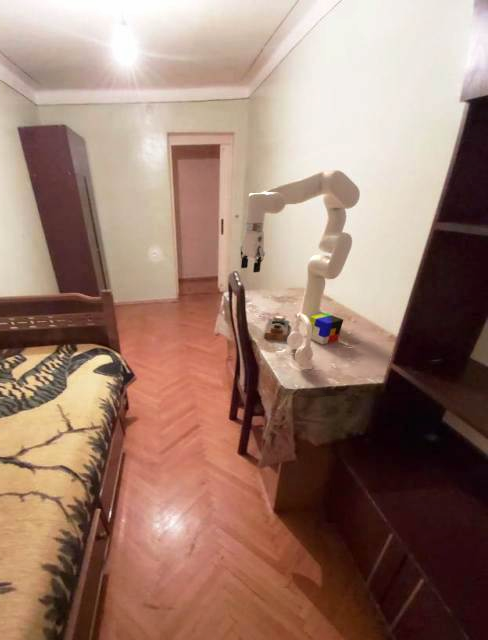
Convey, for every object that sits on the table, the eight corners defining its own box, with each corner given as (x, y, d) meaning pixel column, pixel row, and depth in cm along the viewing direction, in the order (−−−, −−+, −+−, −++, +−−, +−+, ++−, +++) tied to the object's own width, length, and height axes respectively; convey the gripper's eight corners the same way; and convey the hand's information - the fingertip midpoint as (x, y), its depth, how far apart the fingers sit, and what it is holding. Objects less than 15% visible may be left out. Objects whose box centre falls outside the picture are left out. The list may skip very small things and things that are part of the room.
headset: (284, 348, 141) (291, 308, 131) (300, 348, 141) (308, 308, 131) (294, 369, 124) (303, 326, 114) (312, 370, 124) (323, 326, 114)
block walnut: (287, 332, 156) (288, 324, 153) (285, 340, 148) (287, 331, 145) (266, 330, 158) (267, 321, 156) (264, 338, 150) (265, 329, 148)
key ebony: (280, 326, 151) (280, 323, 151) (280, 328, 149) (280, 325, 148) (274, 326, 152) (274, 322, 151) (274, 328, 150) (274, 325, 149)
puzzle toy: (322, 344, 144) (327, 323, 138) (306, 336, 151) (310, 316, 146) (337, 340, 148) (343, 319, 142) (321, 333, 155) (326, 313, 150)
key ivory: (282, 319, 161) (282, 316, 160) (281, 321, 158) (282, 318, 157) (275, 319, 162) (276, 315, 161) (275, 321, 159) (275, 317, 158)
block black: (288, 324, 165) (289, 317, 163) (287, 331, 157) (288, 324, 155) (268, 322, 167) (269, 315, 165) (266, 329, 159) (268, 321, 157)
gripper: (274, 229, 130) (268, 273, 139) (250, 225, 143) (246, 265, 152) (259, 230, 127) (254, 274, 137) (235, 226, 140) (233, 267, 150)
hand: (250, 269), depth 144 cm, fingers open, 9 cm apart
